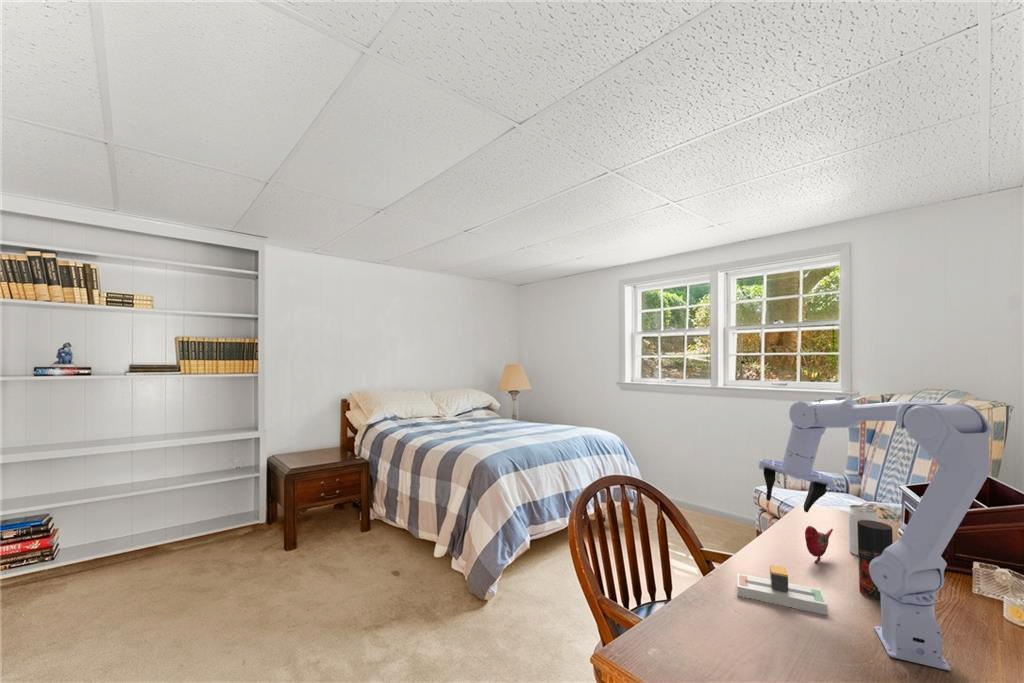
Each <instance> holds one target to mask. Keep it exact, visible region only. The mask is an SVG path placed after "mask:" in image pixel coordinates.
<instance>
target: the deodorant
mask: <svg viewBox="0 0 1024 683" xmlns="http://www.w3.org/2000/svg"><path fill="white" fill-rule="evenodd" d="M857 527H858V556H857V558H858V582H859V583H858V584H859V592H860V594H861V595H863V596H864V597H866V598H868V599H871V600H872V601H873V600H874V601H877V602H881V594H880V592H879V591H878V587H877V586H876V585H875V584H874V582H873V581H872V579H871V576H870V573H869V564H870V562H871V561H872V559H874V558H876V557H879V556H880V555H881V554H882V553H883V551H884V549H886V548H887V547H889V546H890V545H892V544H893V543H894V541H893V537H894V536H893V527H892V526H891V525H889V524H888V523H885V522H880V521H879V522H877V521H871V520H859V521H857Z"/></svg>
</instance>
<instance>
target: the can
mask: <svg viewBox="0 0 1024 683" xmlns="http://www.w3.org/2000/svg"><path fill="white" fill-rule="evenodd" d="M877 511H878V509H876V508H874V507H871V506H866V505H860V504H851V505H849V510H848V511H847V521H848V522H847V523H848V526H847V527H848V549H849V551H850V553H851V554H852V555H854V556H856V557H858V527H857V521H859V520H871V521H877V522H880V517H879V515H878V513H877Z"/></svg>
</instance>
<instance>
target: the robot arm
mask: <svg viewBox="0 0 1024 683" xmlns="http://www.w3.org/2000/svg"><path fill="white" fill-rule="evenodd" d="M814 400H815V401H802V400H800V401H797V402H795V403H793V404H791V406H790V408H789V410H788V414H789V415H788V416H789V419H790V422H791V423H792V425H791V429H790V432H789V436H788V440H787V444H786V449H785V452H784V456H783V459H782V461H780V460H774V459H767V458H763V457H760V459H759V463H758V468H759V469H760V470H763V477H764V481H765V484H766V495H765V496H766V497H765V498H766V501H769V502H770V501H771V498H772V493H773V489H774V485H775V482H776V475H777V474H776V473H779V474H782V475H786V476H790V477H792V478H795V479H799V480H802V481H808V482H809V488H808V492H807V495H806V497H805V500H804V503H803V510H804V511H803V512H804V513H808V512H809V511H810V509H811V508H812V506H813V505H814V504H815V503H816V502H817V501H818V500H819V499H820V498H821V497H823V496H825V494H826V493H827V489H833V487H834V486H835V485H834V484H835V479H834V477H833V476H829V475H826V474H823V473H821V472H819V471H816V470H814V469H813V468H814V465H815V460H816V456H817V452H818V449H819V446H820V443H821V439H822V436H823V435H825V432H826V430H827V429H830V428H831V429H835V428H836V429H841V428H842V429H843V428H847V429H849V428H850V429H851V428H858V427H859V426H860V425H861V424H862V423H863V421H864V422H865V421H866V422H868V421H869V422H871V421H872V422H875V421H876V422H889V421H891V422H895V423H896V424H897V426H898V427H899V429H905V430H906V432H907V434H909V436H910V437H911V438H912V439H913V440H914V441H915V442H916V443H917V445H919V446H920V447H921V448H922V449H923V450H924V451H925V452H926V453H927V454H928V455H929V456H930V458H931V459H932V460H933V461H935V463H936V464H937V469H936V471H935V473H934V475H933V477H932V479H931V480H930V482H929V484H928V486H927V487H926V490H924V491H925V492H924V493H923V495H922V497H921V499H920V501H919V503H918V505H917V506H916V509H915V510H914V512H913V514H912V516H911V518H910V519H909V521H908V523H907V524H906V527H905V528H904V531H903V532H902V534H901V536H900V538H899V539H898V540H897V541H895V542H893V544H892V545H890V546H889V547H887V548H886V549H884V551H883V553H882V554H881V555H880V556H879V557H876V558H874V559H872V561H871V562H870V564H869V573H870V576H871V579H872V581H873V582H874V584H875V585H876V586H877V587H878V591H879V592H880V594H881V601H880V618H881V620H880V621H881V624H880V625H881V626H878V625H875V626H874V631H875V633H876V634H877V636H878V639H879V640H880V642H881V644H882V646H883V648H884V649H885V651H886V653H887V655H888V656H889V657H890V658H894V659H899V660H903V661H906V662H911V663H915V664H918V665H919V664H920V665H923V666H928V667H933V668H936V669H940V670H946V671H951V666H950V665H949V663H948V662H947V661H946V659H945V657H944V656H943V642H942V641H943V638H942V630H941V627H940V625H939V623H938V621H937V619H936V616H935V599H936V598H937V597H936V596H937V595H936V594H937V593H936V592H938V591H940V590H941V589H943V587H944V584H945V577H944V576H945V575H944V574H945V570H946V567H947V565H948V563H947V562H946V560H945V559H944V558H943V557H942V555H943V553H944V552H945V550H946V548H947V546H948V544H949V543H950V541H951V539H952V538H953V536H954V534H955V533H956V531H957V529H958V528H959V526H960V524H961V523H962V522H963V520H964V517H965V516H966V514H967V513H968V511H969V509H970V508H971V506H972V503H973V502H974V501H975V499H976V497H977V496H978V494H979V492H980V491H981V489H982V487H983V485H984V483H985V482H986V480H987V478H988V477H989V475H990V472H991V462H990V451H989V450H990V449H989V442H988V441H989V440H988V439H989V437H990V436H991V434H992V432H993V428H992V427H991V425H990V423H989V422H988V421H987V419H986V417H985V416H984V414H982V412H981V411H980V410H978V409H977V408H976V407H974V406H972V405H970V404H968V403H967V404H966V403H952V404H948V403H947V402H936V401H914V400H913V401H912V400H911V401H910V400H909V401H907V400H906V401H889V402H880V403H879V402H877V403H868V404H866V403H865V404H859V403H858V402H857V401H855V399H852V398H851V399H850V398H847V397H846V396H835V397H834V399H833V400H832V399H829V400H824V399H823V398H815V399H814Z"/></svg>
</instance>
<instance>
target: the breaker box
mask: <svg viewBox="0 0 1024 683" xmlns="http://www.w3.org/2000/svg"><path fill="white" fill-rule="evenodd" d="M736 575H737V586H736V587H737V590H736V591H737V597H740V596H743V597H742V598H744V597H748V598H747V599H749V598H752V599H751V600H754V599H757V600H756V601H758V600H761V601H760V602H763V601H765V603H768V602H769V603H768V604H772V603H774V604H773V605H777V604H778V606H782V605H783V606H782V607H787V608H791V607H792V609H798V610H802V611H806V612H810V611H812V612H811V613H816V614H819V615H820V614H821V615H824V616H828V614H829V613H828V603H827V600H826V598H825V595H824V593H823V590H822V589H821V588H818V587H817V588H816V587H811V586H807V585H802V584H795V583H790V582H788V592H787V591H782V590H777V589H772V587H771V581H770V579H769V578H765V577H759V576H754V575H749V574H744V573H743V574H742V573H736Z"/></svg>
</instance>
